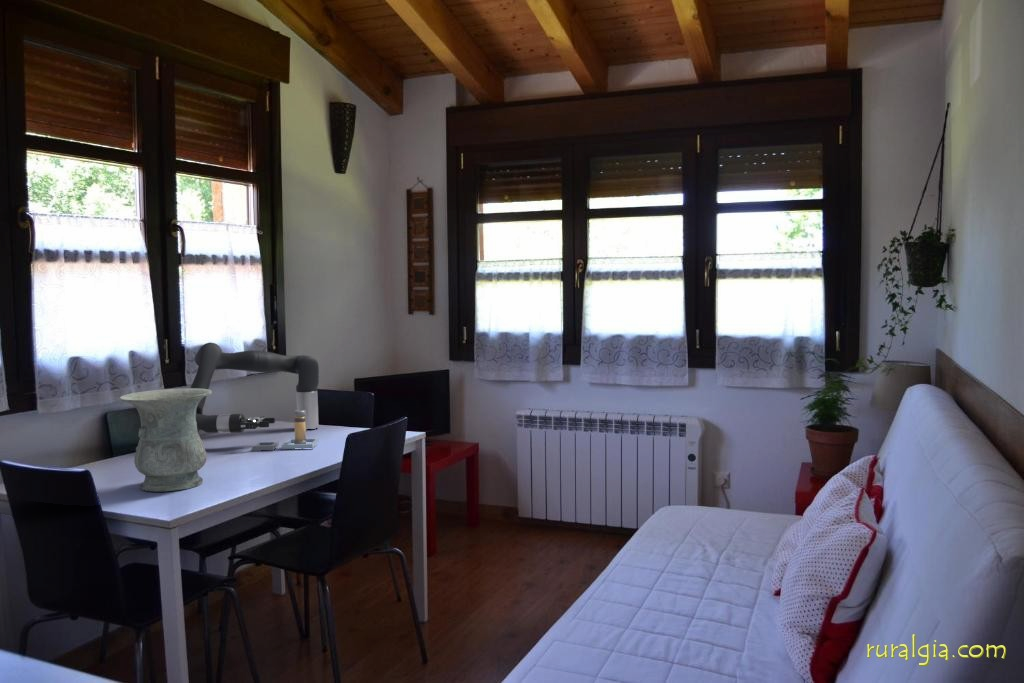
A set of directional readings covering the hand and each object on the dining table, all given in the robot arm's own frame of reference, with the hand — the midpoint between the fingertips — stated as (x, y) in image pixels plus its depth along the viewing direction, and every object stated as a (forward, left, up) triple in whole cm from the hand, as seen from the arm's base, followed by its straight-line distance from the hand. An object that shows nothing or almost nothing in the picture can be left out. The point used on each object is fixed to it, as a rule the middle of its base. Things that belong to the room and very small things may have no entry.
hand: (271, 422), depth 303 cm
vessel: (+58, -17, -10) cm, 61 cm away
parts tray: (0, +11, -10) cm, 15 cm away
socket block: (+3, -2, -10) cm, 11 cm away
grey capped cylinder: (0, +11, -10) cm, 15 cm away
